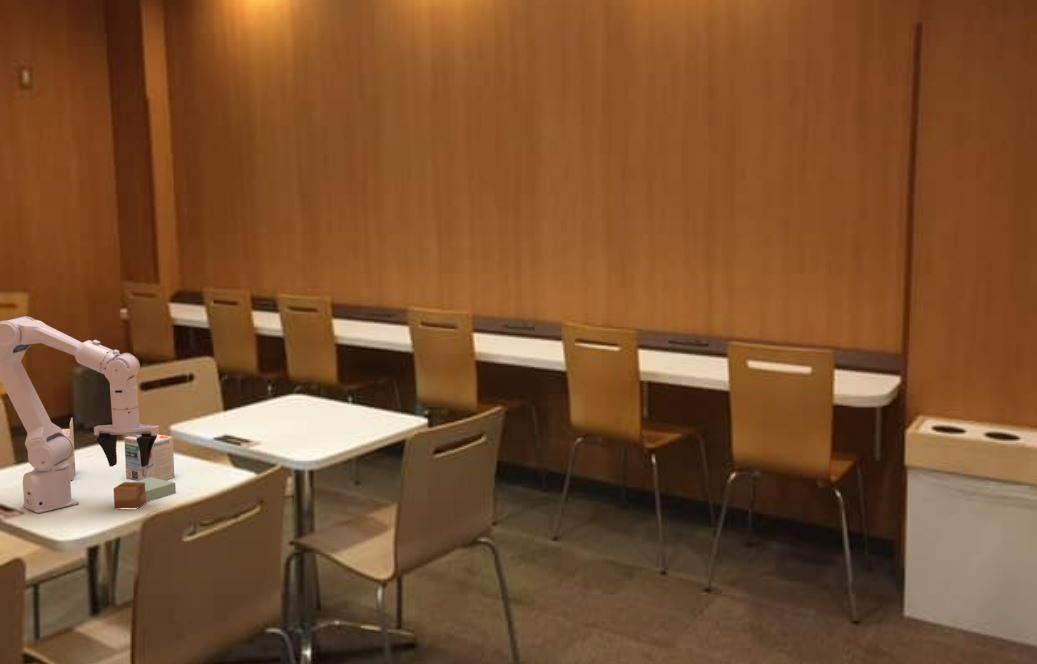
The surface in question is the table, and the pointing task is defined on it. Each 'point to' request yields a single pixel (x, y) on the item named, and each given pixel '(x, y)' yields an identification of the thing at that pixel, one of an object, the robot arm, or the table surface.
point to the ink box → (72, 459)
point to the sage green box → (157, 488)
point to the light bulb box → (150, 459)
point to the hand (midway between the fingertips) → (129, 465)
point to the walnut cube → (129, 495)
